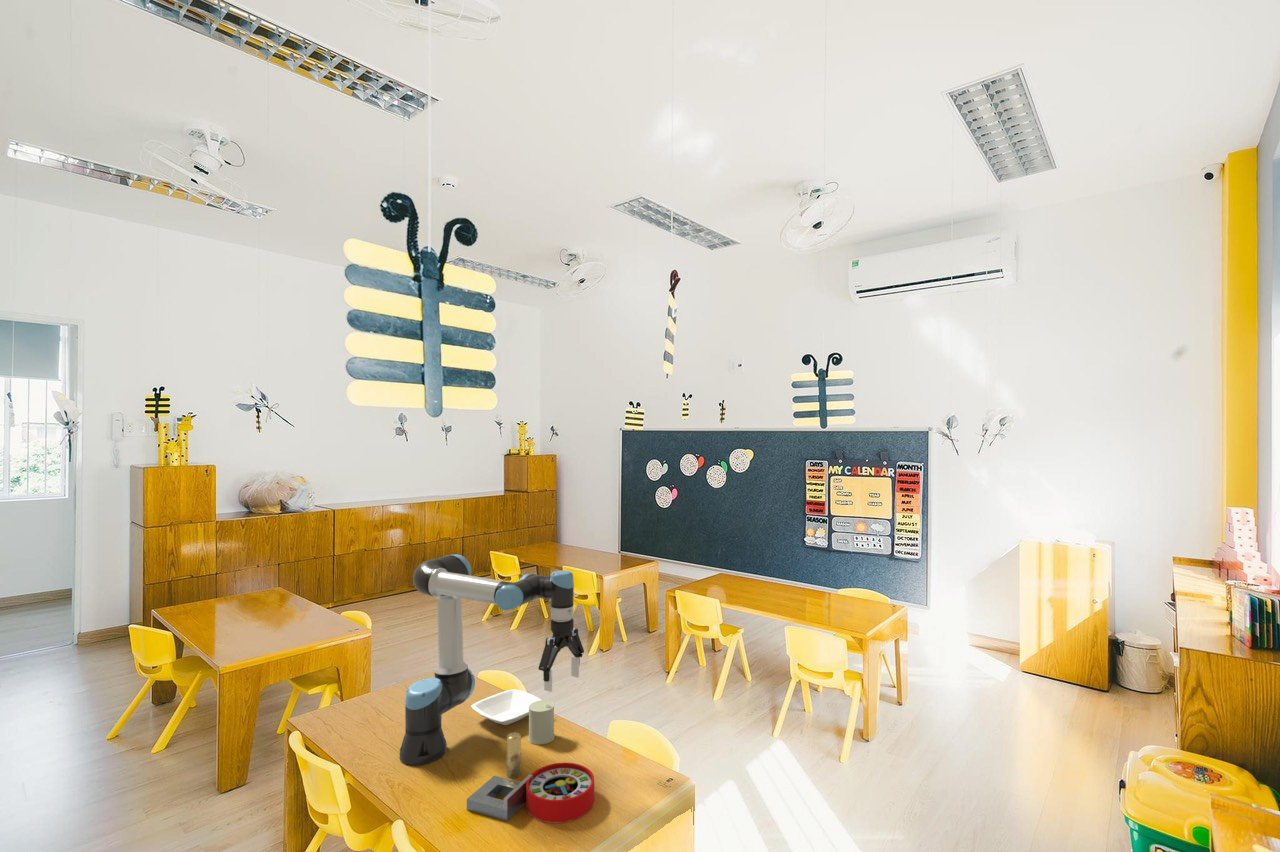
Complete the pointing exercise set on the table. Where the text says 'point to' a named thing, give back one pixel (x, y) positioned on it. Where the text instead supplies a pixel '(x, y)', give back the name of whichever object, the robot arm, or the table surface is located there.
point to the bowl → (505, 706)
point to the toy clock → (560, 792)
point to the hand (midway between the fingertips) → (562, 683)
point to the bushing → (513, 755)
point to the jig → (497, 808)
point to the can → (541, 722)
